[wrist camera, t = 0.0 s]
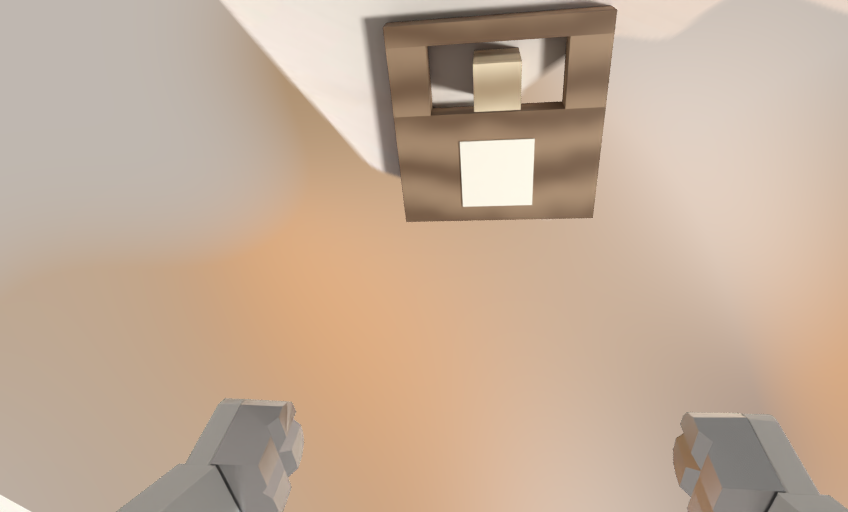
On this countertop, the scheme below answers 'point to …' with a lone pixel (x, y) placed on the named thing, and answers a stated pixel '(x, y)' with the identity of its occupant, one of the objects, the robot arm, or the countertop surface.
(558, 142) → the pocket board
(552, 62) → the countertop surface
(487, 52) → the ash block
